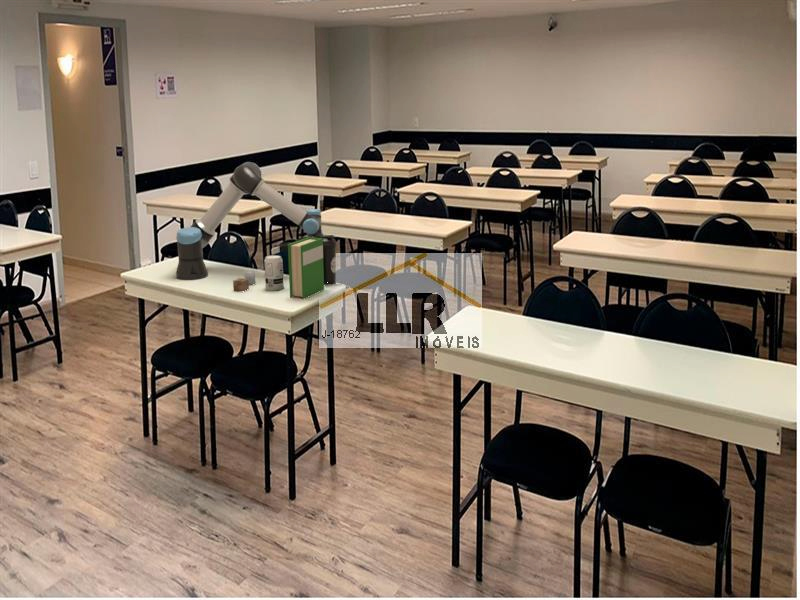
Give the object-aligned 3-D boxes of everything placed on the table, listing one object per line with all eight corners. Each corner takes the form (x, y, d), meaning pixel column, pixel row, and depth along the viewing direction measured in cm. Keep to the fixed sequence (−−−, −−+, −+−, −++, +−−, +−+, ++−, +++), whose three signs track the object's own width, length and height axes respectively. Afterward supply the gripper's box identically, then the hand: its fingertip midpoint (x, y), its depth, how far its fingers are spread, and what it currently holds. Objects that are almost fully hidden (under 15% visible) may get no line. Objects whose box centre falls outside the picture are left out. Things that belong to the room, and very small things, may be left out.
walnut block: (233, 291, 340) (232, 280, 339) (239, 288, 345) (238, 278, 344) (243, 292, 339) (242, 281, 337) (248, 289, 343) (248, 279, 342)
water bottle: (334, 286, 349) (332, 237, 343) (313, 284, 351) (311, 237, 345) (339, 280, 359) (338, 233, 352) (319, 279, 361) (318, 233, 354)
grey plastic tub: (242, 284, 351) (242, 272, 349) (248, 282, 356) (247, 270, 354) (252, 285, 349) (251, 273, 348) (257, 283, 354) (256, 271, 352)
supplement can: (266, 286, 348) (265, 255, 344) (284, 286, 349) (282, 254, 345) (265, 290, 340) (263, 259, 336) (283, 290, 341) (281, 258, 337)
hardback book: (304, 298, 328) (302, 245, 321) (289, 297, 330) (287, 244, 324) (324, 289, 343) (322, 238, 337) (310, 287, 346) (308, 237, 339)
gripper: (328, 252, 365) (308, 262, 346) (284, 249, 374) (262, 258, 355) (328, 237, 363) (308, 246, 344) (283, 235, 372) (261, 243, 353)
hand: (284, 252), depth 349 cm, fingers open, 13 cm apart
